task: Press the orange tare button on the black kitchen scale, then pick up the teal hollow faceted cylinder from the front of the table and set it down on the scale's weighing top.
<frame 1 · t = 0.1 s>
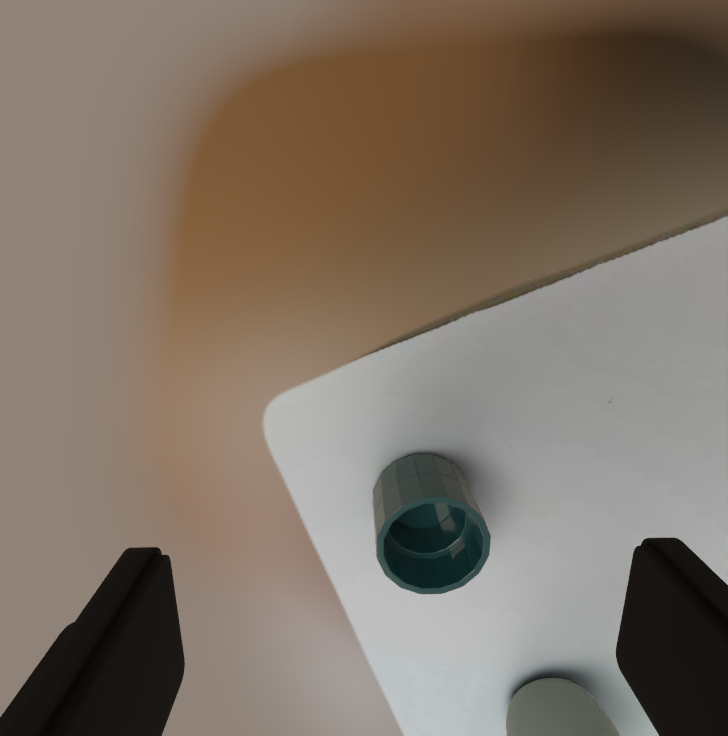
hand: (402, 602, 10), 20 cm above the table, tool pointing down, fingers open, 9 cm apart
teal hollow faceted cylinder: (420, 493, 32), on the table
cup: (543, 697, 37), on the table
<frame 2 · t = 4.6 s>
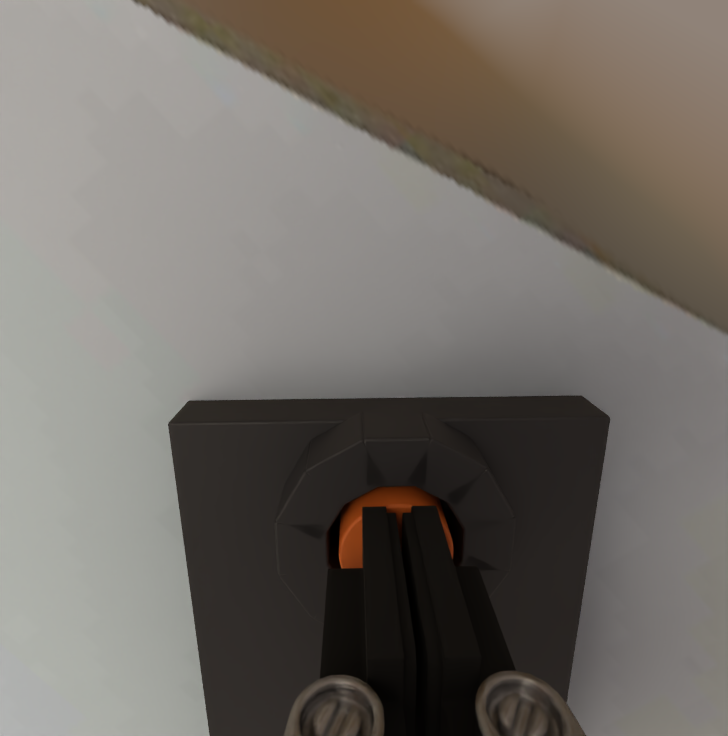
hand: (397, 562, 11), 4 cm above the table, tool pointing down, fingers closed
tare button: (393, 534, 12), point 3 cm above the table, slide at -0.8 cm, touching gripper
scale: (384, 627, 16), on the table
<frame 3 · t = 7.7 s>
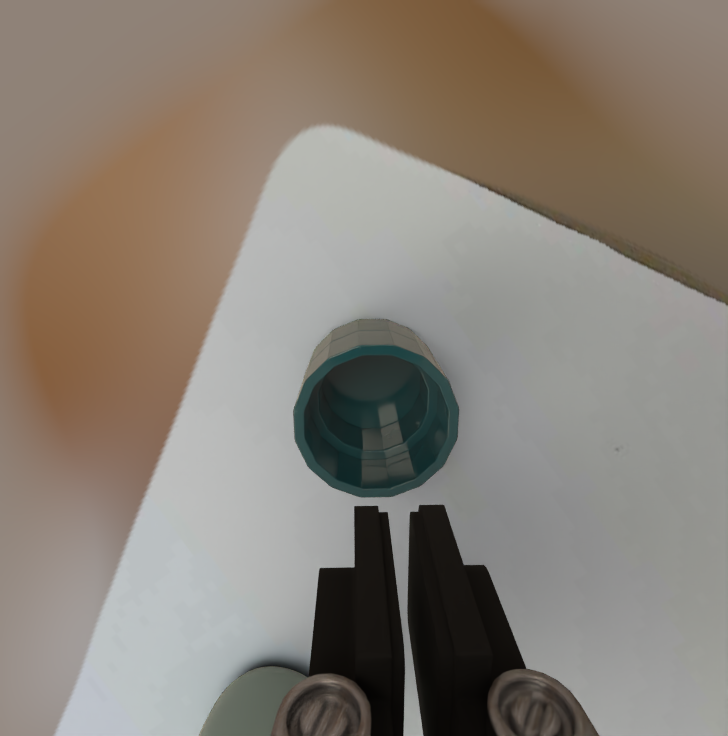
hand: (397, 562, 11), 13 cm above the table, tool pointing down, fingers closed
teal hollow faceted cylinder: (371, 379, 23), on the table
cup: (276, 691, 29), on the table
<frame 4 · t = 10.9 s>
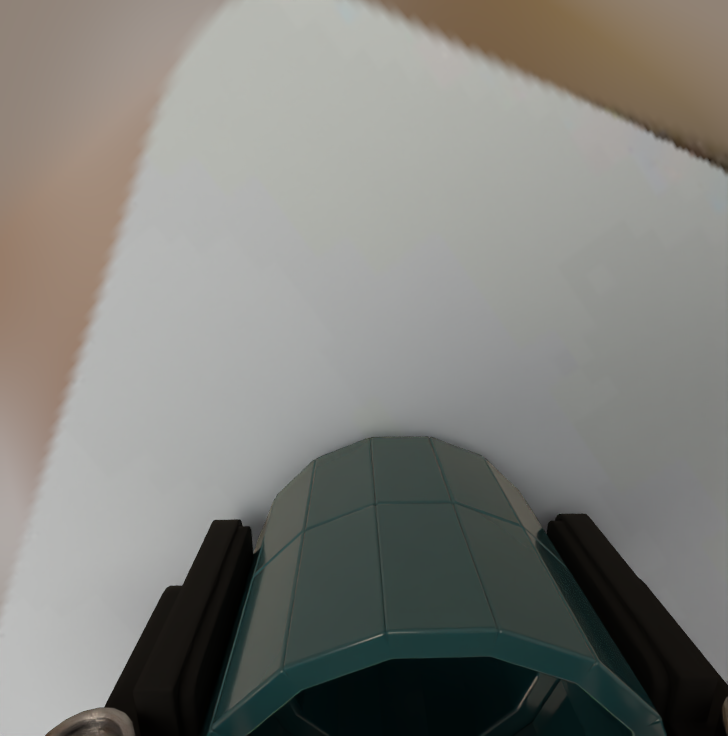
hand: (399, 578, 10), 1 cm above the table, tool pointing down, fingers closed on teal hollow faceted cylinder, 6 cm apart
teal hollow faceted cylinder: (395, 547, 11), on the table, touching gripper
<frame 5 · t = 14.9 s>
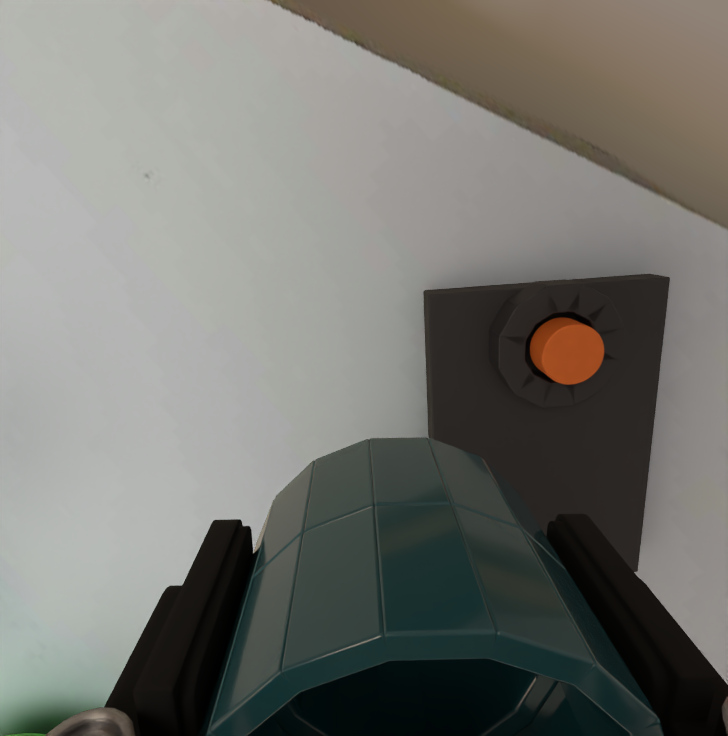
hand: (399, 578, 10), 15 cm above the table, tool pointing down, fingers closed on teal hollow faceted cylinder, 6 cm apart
teal hollow faceted cylinder: (394, 548, 11), point 14 cm above the table, touching gripper
tare button: (565, 350, 21), point 4 cm above the table, slide at 0.1 cm
scale: (531, 433, 26), on the table
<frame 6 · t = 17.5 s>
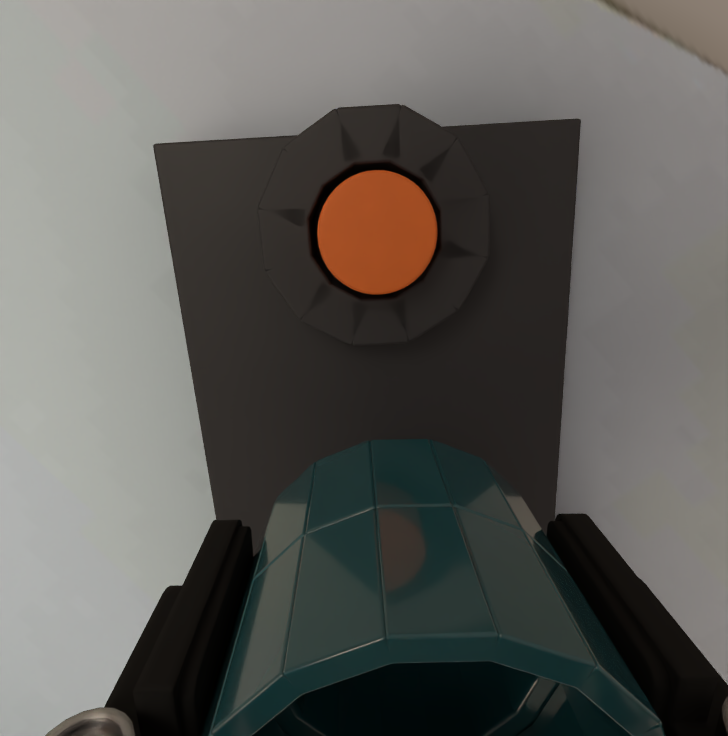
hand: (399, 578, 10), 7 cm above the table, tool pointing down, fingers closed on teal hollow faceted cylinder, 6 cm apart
teal hollow faceted cylinder: (395, 550, 11), point 6 cm above the table, touching gripper
tare button: (376, 233, 11), point 4 cm above the table, slide at 0.1 cm
scale: (379, 401, 16), on the table
when the fingers open (3 cm above the table, at t = 19.3 s): teal hollow faceted cylinder stays where it is, resting on scale.
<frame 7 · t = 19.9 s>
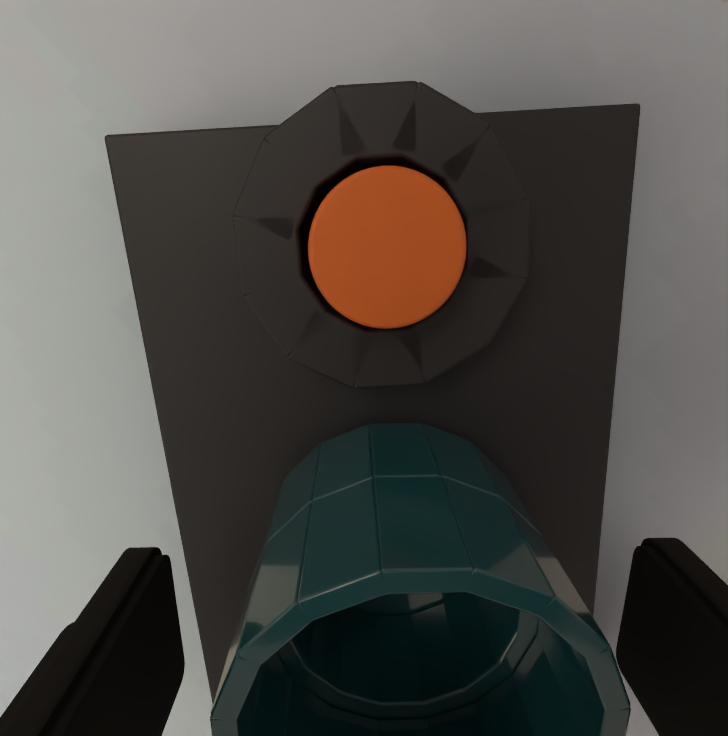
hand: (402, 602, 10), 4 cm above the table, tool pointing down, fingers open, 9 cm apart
teal hollow faceted cylinder: (392, 525, 12), point 2 cm above the table, touching scale
tare button: (384, 249, 9), point 4 cm above the table, slide at 0.1 cm
scale: (385, 444, 14), on the table
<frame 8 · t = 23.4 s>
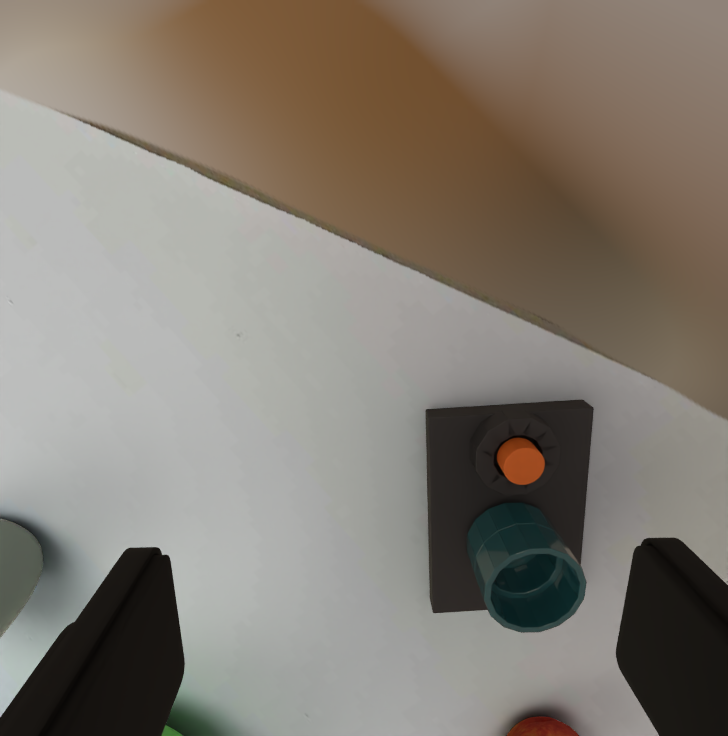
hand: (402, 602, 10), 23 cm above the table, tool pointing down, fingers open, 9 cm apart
teal hollow faceted cylinder: (507, 536, 35), point 2 cm above the table, touching scale
tare button: (520, 460, 31), point 4 cm above the table, slide at 0.1 cm
scale: (501, 504, 36), on the table
fruit: (529, 727, 43), on the table
cup: (9, 545, 36), on the table
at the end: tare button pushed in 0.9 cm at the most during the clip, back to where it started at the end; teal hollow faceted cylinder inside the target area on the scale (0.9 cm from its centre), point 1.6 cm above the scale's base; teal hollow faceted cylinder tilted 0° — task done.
